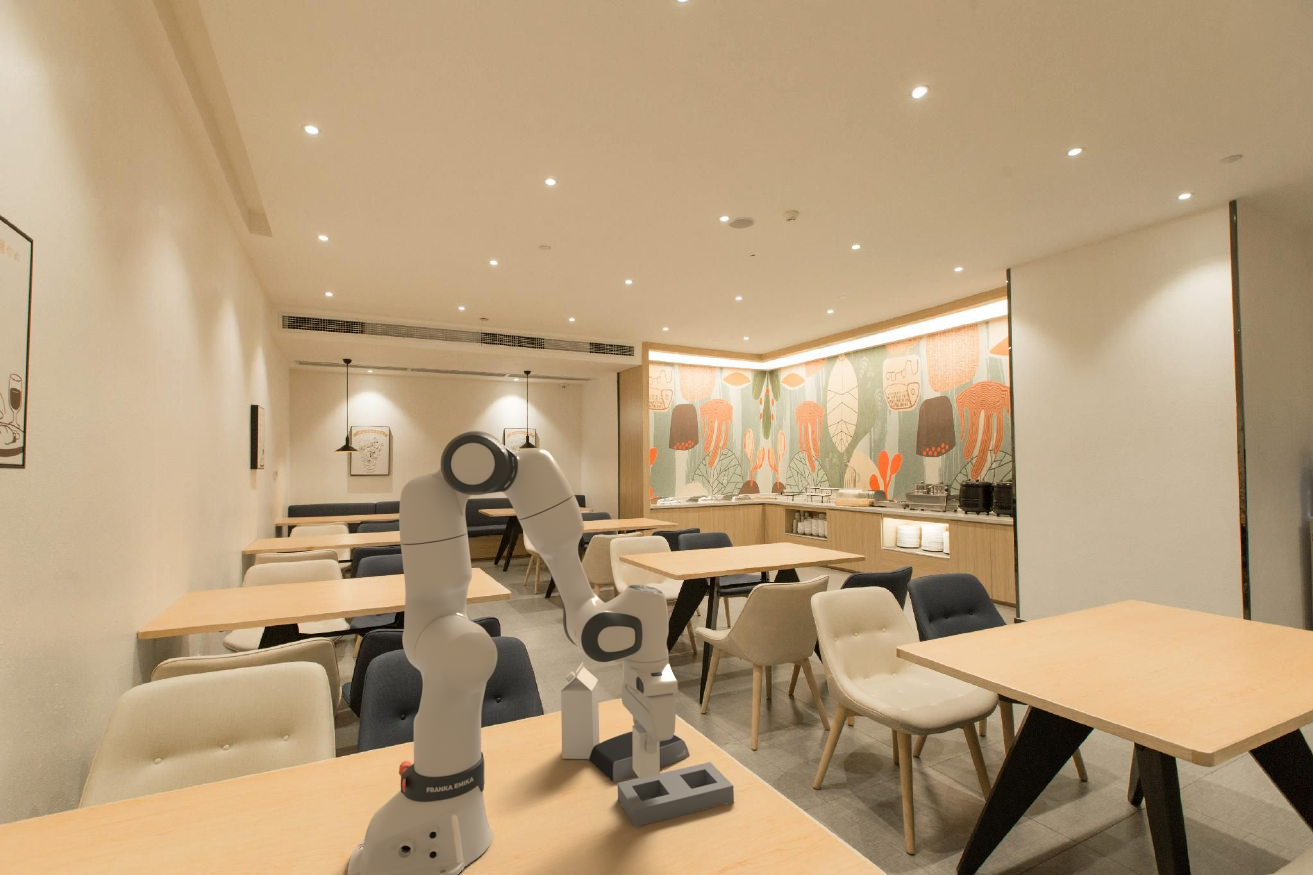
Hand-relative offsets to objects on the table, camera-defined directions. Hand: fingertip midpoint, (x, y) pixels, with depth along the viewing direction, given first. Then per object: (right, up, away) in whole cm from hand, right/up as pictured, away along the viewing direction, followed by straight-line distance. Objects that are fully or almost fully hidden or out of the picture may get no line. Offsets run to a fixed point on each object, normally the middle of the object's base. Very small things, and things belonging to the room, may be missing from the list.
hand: (645, 746), depth 111 cm
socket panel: (+6, -11, +1) cm, 13 cm away
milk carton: (-15, -13, +22) cm, 30 cm away
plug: (0, -5, 0) cm, 5 cm away
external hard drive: (-2, -13, +19) cm, 23 cm away
